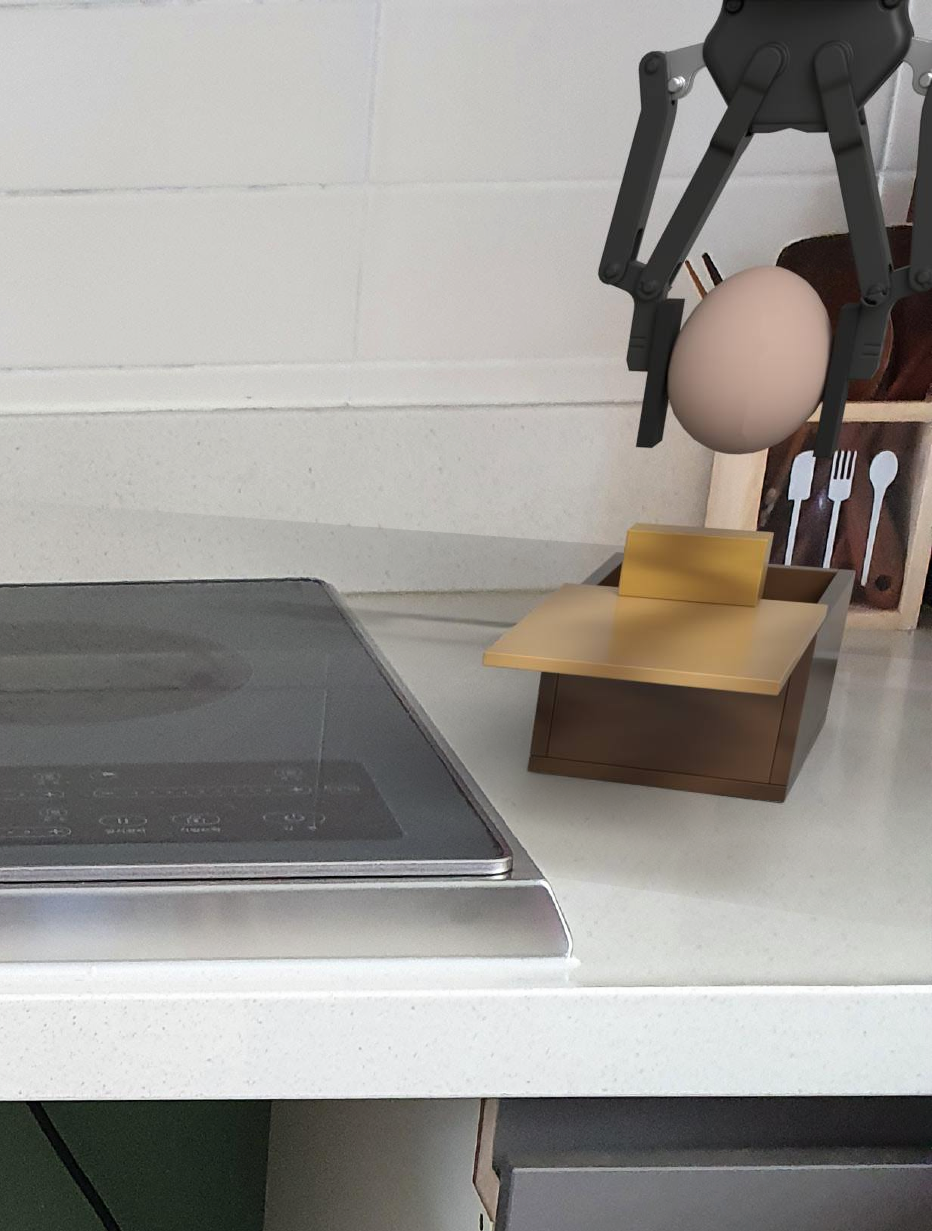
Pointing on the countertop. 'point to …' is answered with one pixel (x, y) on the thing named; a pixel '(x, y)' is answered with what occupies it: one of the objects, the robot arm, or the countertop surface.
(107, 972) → the countertop surface
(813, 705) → the box
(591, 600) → the lid
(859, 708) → the countertop surface
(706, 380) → the egg
